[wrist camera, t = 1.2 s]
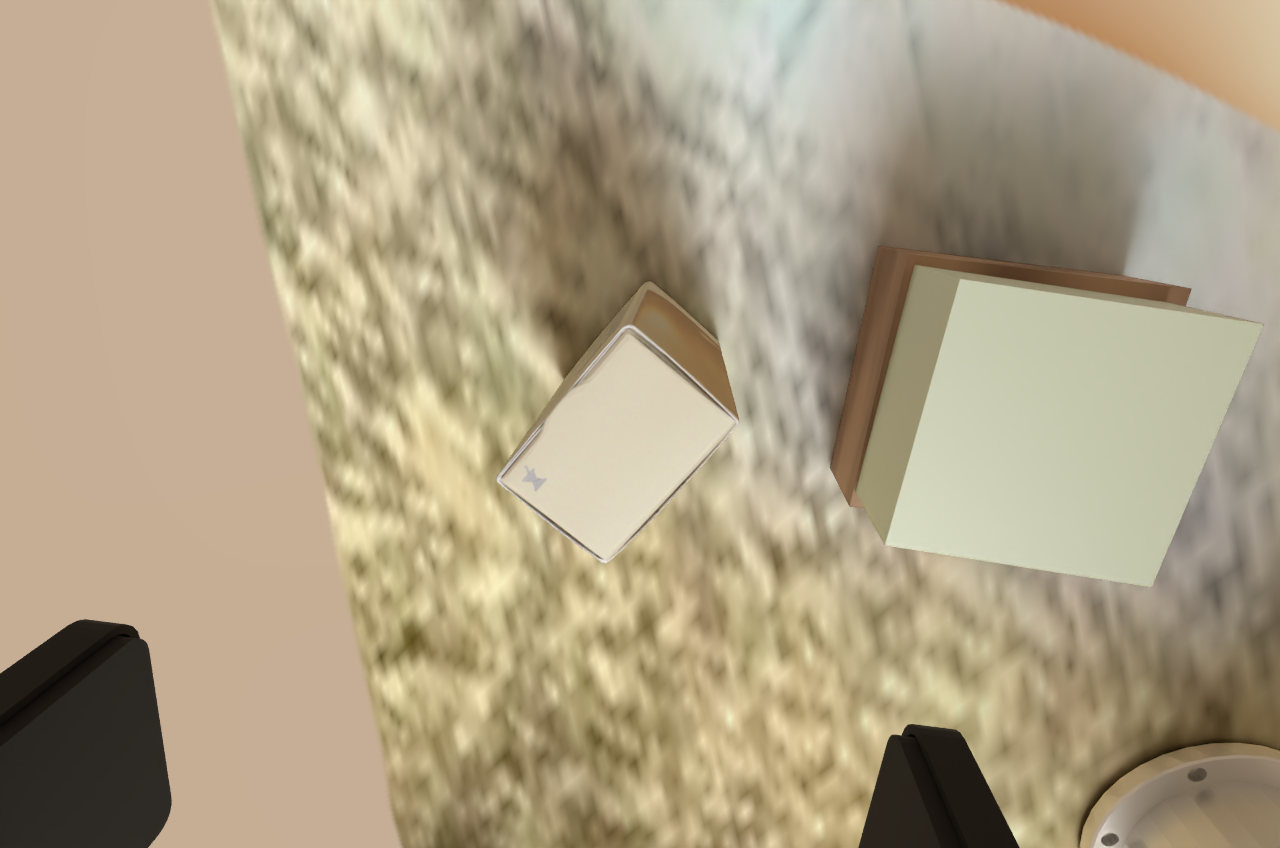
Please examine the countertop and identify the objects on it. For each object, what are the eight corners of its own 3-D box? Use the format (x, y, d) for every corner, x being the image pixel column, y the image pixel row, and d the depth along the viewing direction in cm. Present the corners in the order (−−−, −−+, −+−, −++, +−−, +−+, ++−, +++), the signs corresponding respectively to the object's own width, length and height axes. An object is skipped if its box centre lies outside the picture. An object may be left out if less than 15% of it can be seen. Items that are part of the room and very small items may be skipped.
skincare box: (633, 440, 32) (600, 578, 21) (560, 380, 32) (484, 488, 20) (727, 337, 31) (748, 424, 19) (651, 271, 30) (626, 320, 18)
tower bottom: (1118, 274, 29) (1191, 288, 25) (1046, 494, 32) (1100, 540, 28) (876, 245, 29) (907, 253, 25) (829, 465, 32) (849, 506, 28)
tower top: (1166, 301, 25) (1263, 324, 21) (1081, 527, 28) (1151, 587, 24) (914, 264, 25) (959, 278, 21) (855, 491, 28) (884, 545, 24)
